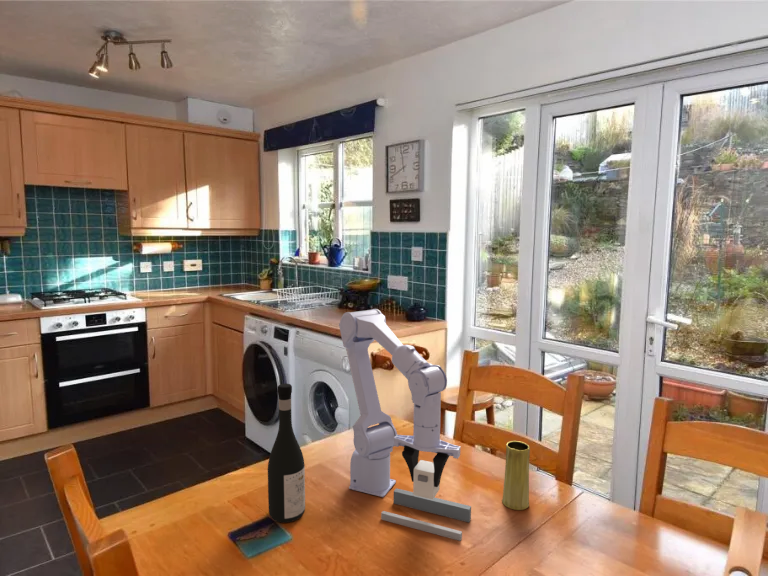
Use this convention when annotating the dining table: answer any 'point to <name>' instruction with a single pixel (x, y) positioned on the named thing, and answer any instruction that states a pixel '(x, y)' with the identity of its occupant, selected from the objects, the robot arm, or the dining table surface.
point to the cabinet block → (424, 480)
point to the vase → (516, 476)
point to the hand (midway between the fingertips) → (425, 482)
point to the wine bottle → (286, 467)
